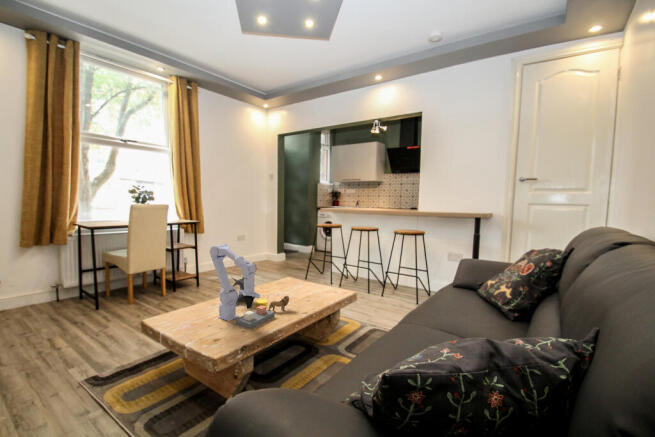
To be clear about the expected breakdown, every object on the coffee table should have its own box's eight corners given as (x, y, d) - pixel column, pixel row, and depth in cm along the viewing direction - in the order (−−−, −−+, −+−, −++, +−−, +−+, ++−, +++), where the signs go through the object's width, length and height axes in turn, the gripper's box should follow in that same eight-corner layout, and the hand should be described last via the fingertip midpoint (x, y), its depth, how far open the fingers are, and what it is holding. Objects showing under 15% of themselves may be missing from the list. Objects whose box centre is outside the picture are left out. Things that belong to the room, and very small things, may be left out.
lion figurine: (287, 307, 198) (287, 294, 198) (290, 310, 194) (290, 296, 193) (265, 311, 191) (265, 297, 190) (268, 314, 186) (268, 300, 186)
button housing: (235, 324, 171) (234, 319, 171) (259, 312, 188) (259, 308, 188) (250, 329, 165) (250, 324, 165) (274, 317, 182) (274, 312, 182)
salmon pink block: (256, 314, 180) (256, 307, 180) (261, 311, 184) (261, 305, 183) (261, 315, 178) (261, 308, 178) (266, 313, 182) (266, 306, 181)
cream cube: (244, 319, 172) (244, 313, 171) (249, 317, 175) (249, 310, 175) (249, 321, 170) (249, 314, 169) (254, 319, 173) (254, 312, 173)
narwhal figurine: (255, 305, 202) (255, 278, 200) (231, 307, 196) (231, 280, 194) (252, 297, 215) (252, 273, 213) (229, 300, 209) (229, 274, 208)
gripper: (234, 284, 171) (234, 307, 172) (253, 288, 164) (253, 313, 165) (243, 281, 177) (243, 304, 178) (262, 285, 170) (262, 309, 171)
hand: (249, 308), depth 172 cm, fingers closed
